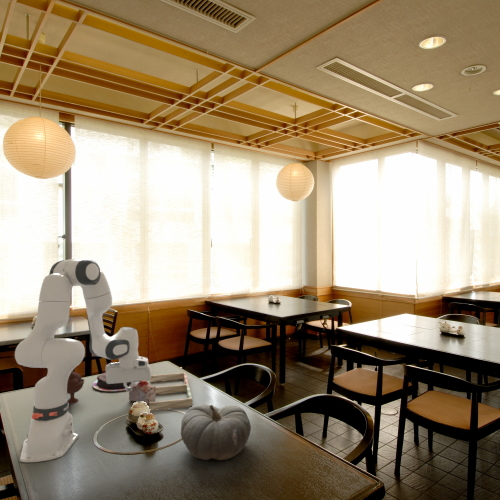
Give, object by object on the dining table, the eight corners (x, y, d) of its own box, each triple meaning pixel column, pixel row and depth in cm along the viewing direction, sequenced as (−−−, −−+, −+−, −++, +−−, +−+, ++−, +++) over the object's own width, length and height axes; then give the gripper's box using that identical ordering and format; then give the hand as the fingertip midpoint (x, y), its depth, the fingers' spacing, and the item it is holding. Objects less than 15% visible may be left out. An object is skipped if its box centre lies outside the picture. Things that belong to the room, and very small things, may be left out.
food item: (158, 402, 184) (158, 381, 184) (145, 408, 178) (145, 386, 178) (139, 396, 192) (139, 376, 192) (126, 401, 186) (125, 381, 186)
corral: (192, 406, 180) (192, 398, 180) (149, 411, 175) (149, 403, 175) (185, 378, 218) (185, 372, 218) (150, 381, 214) (150, 375, 214)
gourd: (172, 432, 148) (180, 388, 148) (233, 432, 157) (241, 390, 156) (184, 475, 125) (193, 423, 124) (255, 472, 134) (264, 423, 133)
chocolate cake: (157, 380, 216) (157, 368, 216) (116, 397, 193) (116, 384, 193) (123, 372, 231) (123, 361, 231) (81, 387, 207) (80, 374, 207)
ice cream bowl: (78, 406, 181) (78, 374, 181) (55, 406, 182) (54, 374, 181) (88, 397, 192) (88, 367, 192) (66, 397, 192) (65, 367, 192)
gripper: (104, 365, 177) (104, 395, 177) (151, 361, 182) (151, 391, 182) (106, 361, 183) (106, 390, 183) (150, 358, 188) (151, 386, 189)
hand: (129, 391), depth 183 cm, fingers closed
